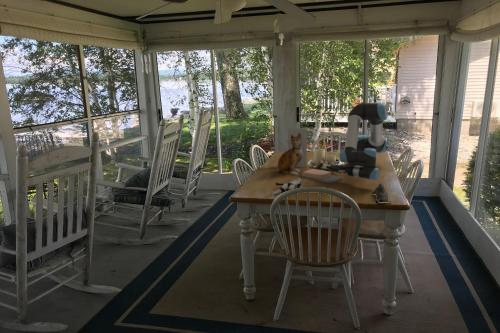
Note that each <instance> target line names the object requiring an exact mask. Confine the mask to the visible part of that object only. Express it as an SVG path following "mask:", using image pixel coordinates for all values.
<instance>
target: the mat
mask: <svg viewBox="0 0 500 333" xmlns="http://www.w3.org/2000/svg"><path fill="white" fill-rule="evenodd" d="M299 178H300V179H305V180H312V181H317V182H323V183H326V184H331V183H333V182H336V181H338V180H340V179H343V178H344V177H343V176H338V175H332V174H331V176H330V177H328V178H325V179H323V180H320V179H314V178H309V177H303V176H302V175H301V176H299Z"/></svg>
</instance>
